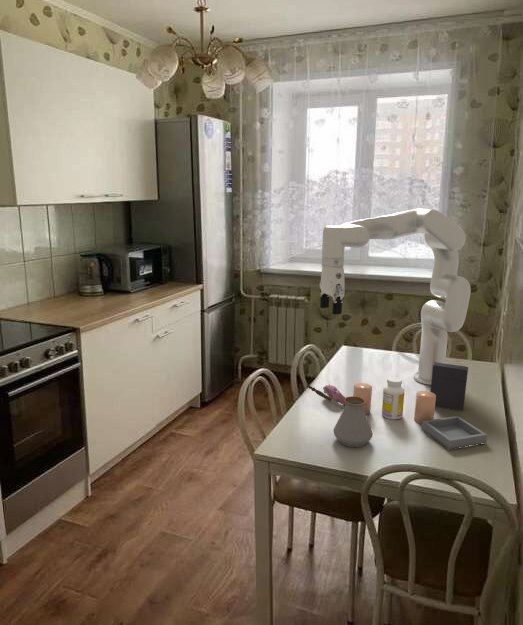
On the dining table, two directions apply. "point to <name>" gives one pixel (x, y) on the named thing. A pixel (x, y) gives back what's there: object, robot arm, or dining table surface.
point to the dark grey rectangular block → (449, 385)
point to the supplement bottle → (393, 398)
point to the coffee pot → (350, 421)
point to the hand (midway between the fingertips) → (330, 310)
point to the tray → (454, 432)
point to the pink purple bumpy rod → (334, 394)
